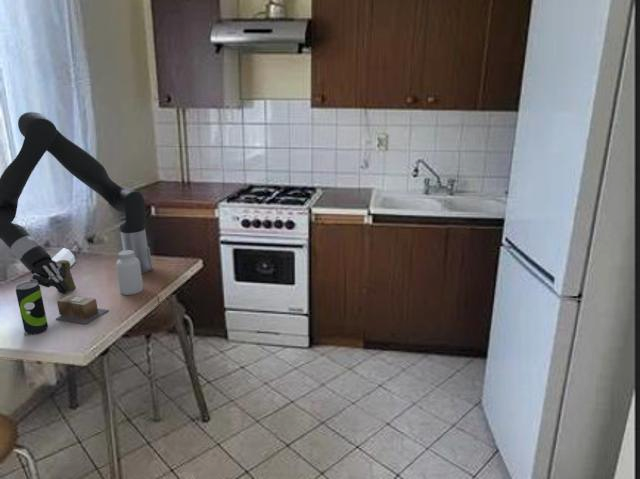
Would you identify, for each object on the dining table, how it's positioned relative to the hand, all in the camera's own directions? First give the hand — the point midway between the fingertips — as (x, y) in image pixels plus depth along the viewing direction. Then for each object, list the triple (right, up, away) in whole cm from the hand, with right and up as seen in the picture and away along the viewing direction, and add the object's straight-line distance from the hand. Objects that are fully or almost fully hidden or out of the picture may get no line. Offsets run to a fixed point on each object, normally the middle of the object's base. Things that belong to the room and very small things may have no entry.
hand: (66, 292), depth 153 cm
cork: (-12, -2, +23) cm, 26 cm away
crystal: (-25, +4, +41) cm, 48 cm away
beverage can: (-5, -11, -8) cm, 15 cm away
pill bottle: (+13, -2, +20) cm, 24 cm away
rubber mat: (+5, -8, +1) cm, 9 cm away
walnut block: (-2, -4, +2) cm, 5 cm away
